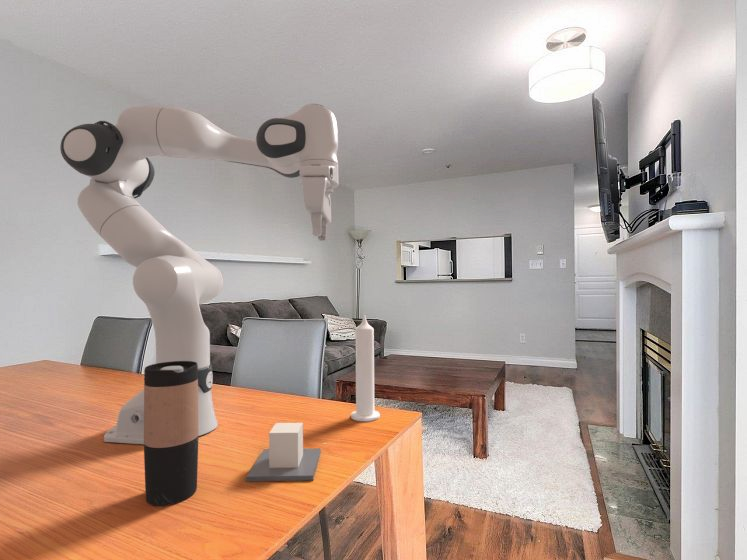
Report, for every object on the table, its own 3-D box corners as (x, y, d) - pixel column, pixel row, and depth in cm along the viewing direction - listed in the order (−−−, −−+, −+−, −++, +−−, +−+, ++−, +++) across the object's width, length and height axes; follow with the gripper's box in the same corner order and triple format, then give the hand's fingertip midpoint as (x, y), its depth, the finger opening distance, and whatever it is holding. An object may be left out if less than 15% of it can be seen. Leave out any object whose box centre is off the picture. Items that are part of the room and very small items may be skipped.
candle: (376, 422, 93) (375, 316, 94) (347, 420, 95) (346, 315, 95) (382, 413, 100) (381, 313, 101) (354, 411, 102) (354, 313, 102)
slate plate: (246, 481, 66) (246, 476, 66) (263, 453, 77) (263, 449, 77) (313, 480, 66) (313, 475, 66) (320, 452, 77) (320, 448, 77)
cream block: (269, 467, 69) (269, 433, 69) (276, 455, 74) (275, 423, 74) (298, 467, 69) (297, 432, 69) (303, 455, 74) (302, 422, 74)
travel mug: (157, 482, 66) (157, 361, 66) (205, 480, 66) (205, 360, 66) (133, 508, 58) (133, 371, 58) (188, 505, 59) (187, 369, 59)
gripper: (311, 189, 101) (312, 243, 101) (297, 164, 81) (298, 232, 81) (336, 189, 102) (337, 243, 101) (328, 164, 81) (329, 232, 81)
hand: (319, 238), depth 91 cm, fingers open, 8 cm apart
